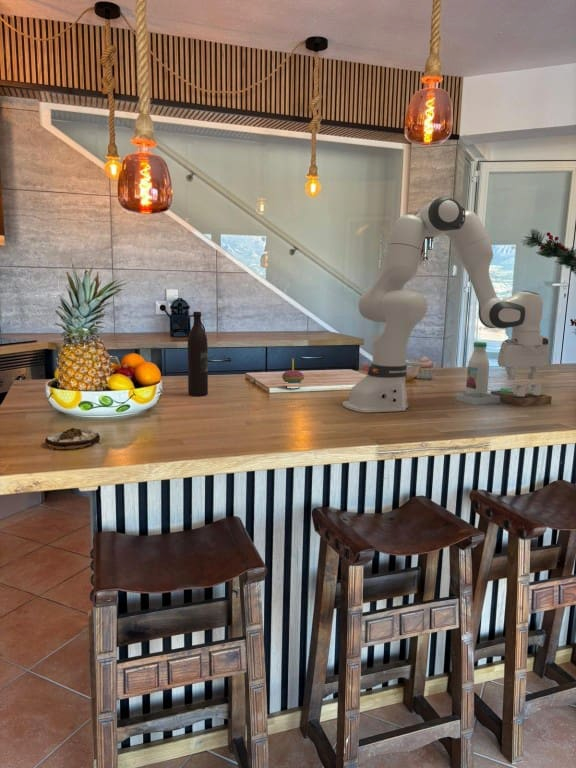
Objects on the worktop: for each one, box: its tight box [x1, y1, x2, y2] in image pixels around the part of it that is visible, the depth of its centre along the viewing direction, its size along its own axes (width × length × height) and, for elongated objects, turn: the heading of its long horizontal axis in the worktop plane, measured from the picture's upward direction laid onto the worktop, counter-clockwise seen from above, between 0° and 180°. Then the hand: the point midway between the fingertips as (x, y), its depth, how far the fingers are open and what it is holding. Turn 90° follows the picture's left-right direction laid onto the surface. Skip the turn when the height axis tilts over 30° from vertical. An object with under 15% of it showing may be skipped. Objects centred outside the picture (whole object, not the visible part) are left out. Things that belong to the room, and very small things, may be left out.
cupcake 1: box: [281, 358, 305, 384], centre depth 221 cm, size 9×8×12 cm
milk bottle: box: [465, 341, 490, 393], centre depth 213 cm, size 8×8×20 cm
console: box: [490, 389, 514, 402], centre depth 205 cm, size 7×7×3 cm
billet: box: [512, 383, 527, 399], centre depth 197 cm, size 4×4×7 cm
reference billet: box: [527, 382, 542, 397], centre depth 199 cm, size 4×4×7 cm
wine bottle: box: [187, 311, 209, 397], centre depth 203 cm, size 7×7×30 cm
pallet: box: [501, 392, 553, 408], centre depth 198 cm, size 15×8×3 cm, turn 116°
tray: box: [455, 392, 501, 406], centre depth 200 cm, size 12×9×2 cm
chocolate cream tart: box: [44, 427, 103, 451], centre depth 141 cm, size 15×15×4 cm
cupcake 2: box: [417, 355, 436, 381], centre depth 249 cm, size 9×9×10 cm
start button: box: [500, 387, 512, 394], centre depth 204 cm, size 3×3×3 cm
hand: (521, 379), depth 195 cm, fingers open, 8 cm apart
